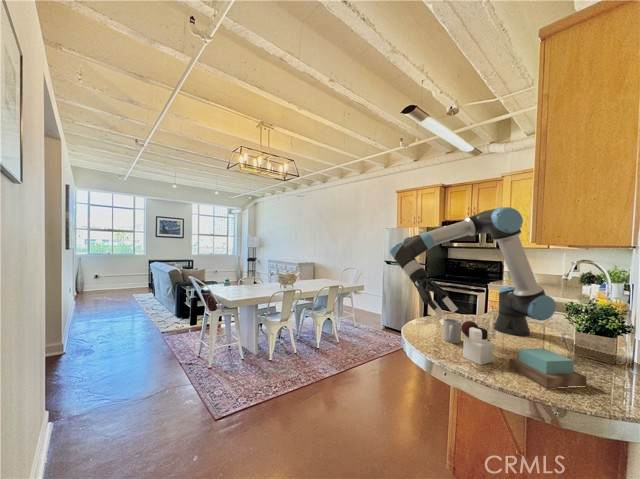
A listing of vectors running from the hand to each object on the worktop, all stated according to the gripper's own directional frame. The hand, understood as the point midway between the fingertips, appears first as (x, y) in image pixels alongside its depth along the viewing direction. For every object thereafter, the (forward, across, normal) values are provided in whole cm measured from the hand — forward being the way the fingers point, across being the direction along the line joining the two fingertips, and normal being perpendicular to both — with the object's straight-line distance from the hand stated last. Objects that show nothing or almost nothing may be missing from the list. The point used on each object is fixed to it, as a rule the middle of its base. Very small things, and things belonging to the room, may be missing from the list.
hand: (449, 313), depth 111 cm
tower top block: (+30, -4, +13) cm, 33 cm away
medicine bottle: (+19, 0, -3) cm, 19 cm away
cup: (+9, -13, -13) cm, 20 cm away
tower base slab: (+33, -3, +10) cm, 34 cm away
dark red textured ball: (+10, -28, -11) cm, 32 cm away
